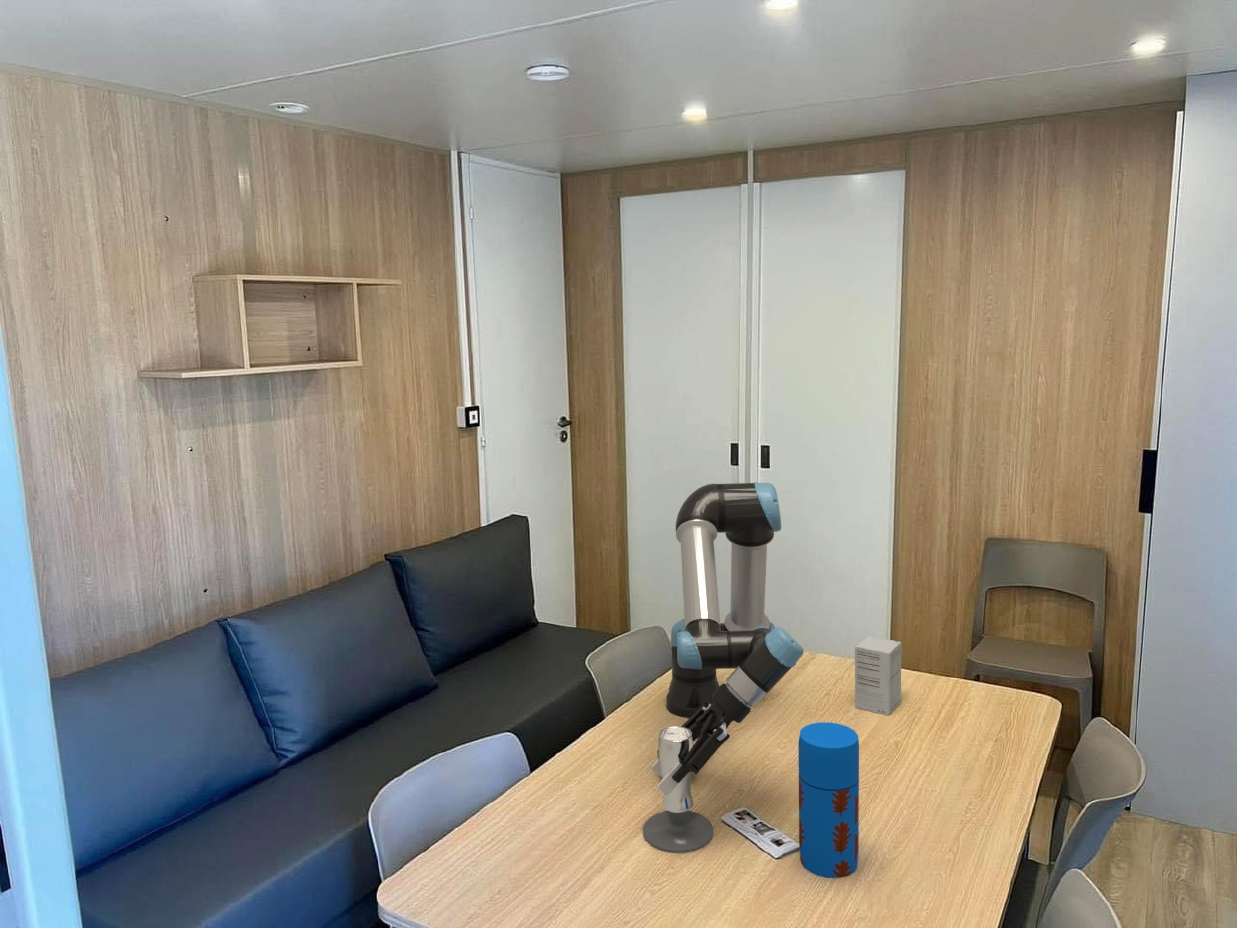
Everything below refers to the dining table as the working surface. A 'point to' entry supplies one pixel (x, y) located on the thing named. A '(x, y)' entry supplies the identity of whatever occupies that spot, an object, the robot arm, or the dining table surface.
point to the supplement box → (878, 675)
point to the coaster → (678, 831)
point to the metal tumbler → (670, 750)
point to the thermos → (828, 799)
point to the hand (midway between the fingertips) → (659, 780)
